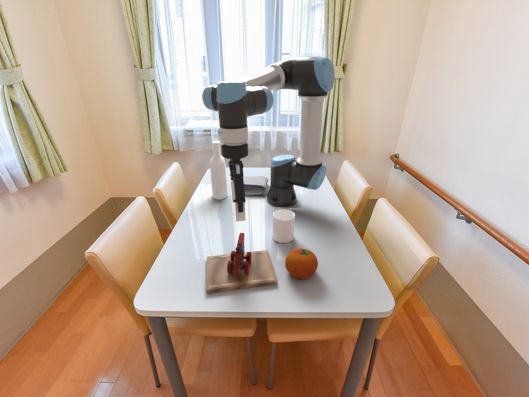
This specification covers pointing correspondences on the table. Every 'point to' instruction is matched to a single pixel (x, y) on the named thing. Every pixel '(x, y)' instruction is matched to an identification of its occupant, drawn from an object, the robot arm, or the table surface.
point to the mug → (283, 226)
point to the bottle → (218, 173)
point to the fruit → (301, 263)
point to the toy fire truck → (239, 258)
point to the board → (257, 277)
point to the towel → (255, 185)
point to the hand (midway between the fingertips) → (238, 209)
